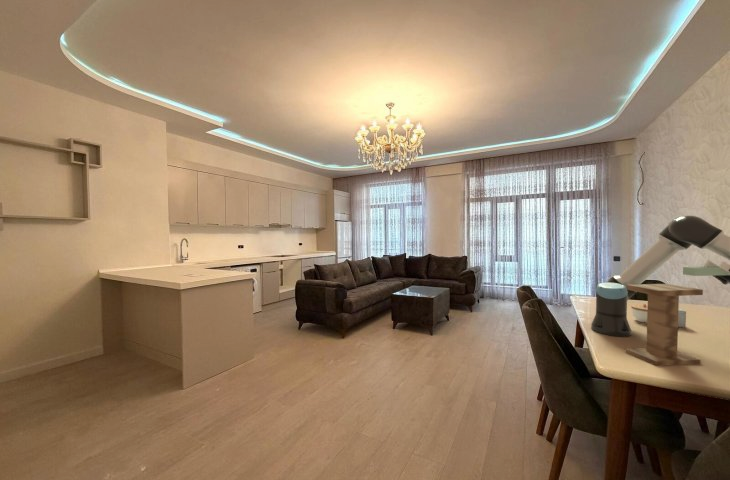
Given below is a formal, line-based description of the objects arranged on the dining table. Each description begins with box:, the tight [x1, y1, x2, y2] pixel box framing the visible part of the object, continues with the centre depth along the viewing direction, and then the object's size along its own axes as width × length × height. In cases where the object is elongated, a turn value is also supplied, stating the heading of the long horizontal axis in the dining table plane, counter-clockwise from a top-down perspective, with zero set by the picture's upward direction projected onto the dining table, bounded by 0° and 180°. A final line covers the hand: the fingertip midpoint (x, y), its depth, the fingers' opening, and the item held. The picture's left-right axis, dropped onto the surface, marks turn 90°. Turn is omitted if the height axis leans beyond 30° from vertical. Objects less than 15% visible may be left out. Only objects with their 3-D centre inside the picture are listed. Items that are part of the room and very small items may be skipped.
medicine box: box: [678, 308, 687, 328], centre depth 152 cm, size 8×4×9 cm, turn 58°
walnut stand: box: [625, 283, 704, 367], centre depth 114 cm, size 18×12×28 cm, turn 95°
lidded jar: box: [631, 303, 648, 324], centre depth 160 cm, size 11×11×9 cm
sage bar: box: [682, 265, 730, 277], centre depth 115 cm, size 19×4×3 cm, turn 94°
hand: (714, 264), depth 115 cm, fingers closed on sage bar, 4 cm apart
